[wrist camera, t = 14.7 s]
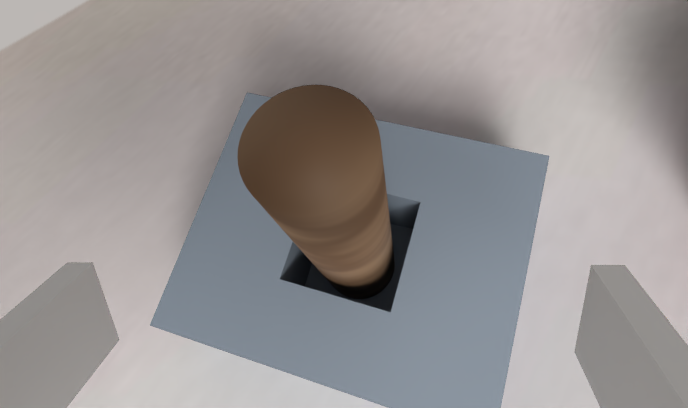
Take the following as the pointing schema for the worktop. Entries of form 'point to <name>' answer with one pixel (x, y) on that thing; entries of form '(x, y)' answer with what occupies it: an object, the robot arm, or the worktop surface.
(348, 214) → the walnut peg
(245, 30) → the worktop surface
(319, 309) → the bore block
